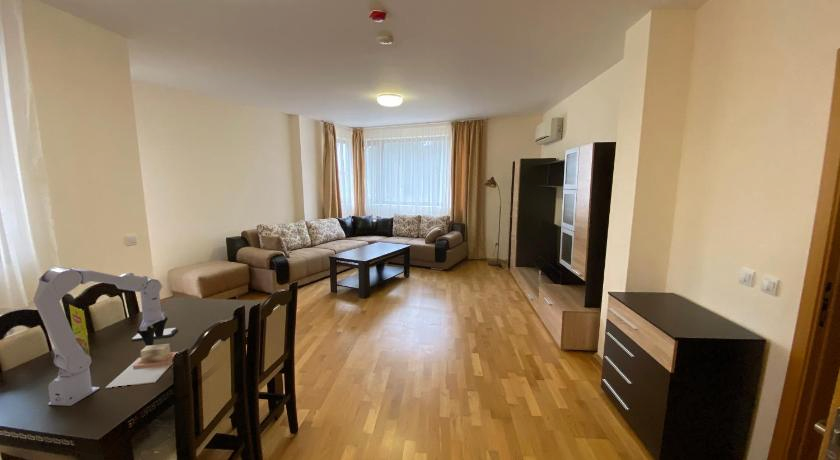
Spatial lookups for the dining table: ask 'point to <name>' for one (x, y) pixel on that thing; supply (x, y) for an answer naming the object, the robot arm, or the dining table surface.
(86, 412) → the dining table surface
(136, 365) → the frame
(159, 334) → the robot arm
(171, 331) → the phone case
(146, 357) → the block
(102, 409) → the dining table surface
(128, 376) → the mat
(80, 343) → the food package
